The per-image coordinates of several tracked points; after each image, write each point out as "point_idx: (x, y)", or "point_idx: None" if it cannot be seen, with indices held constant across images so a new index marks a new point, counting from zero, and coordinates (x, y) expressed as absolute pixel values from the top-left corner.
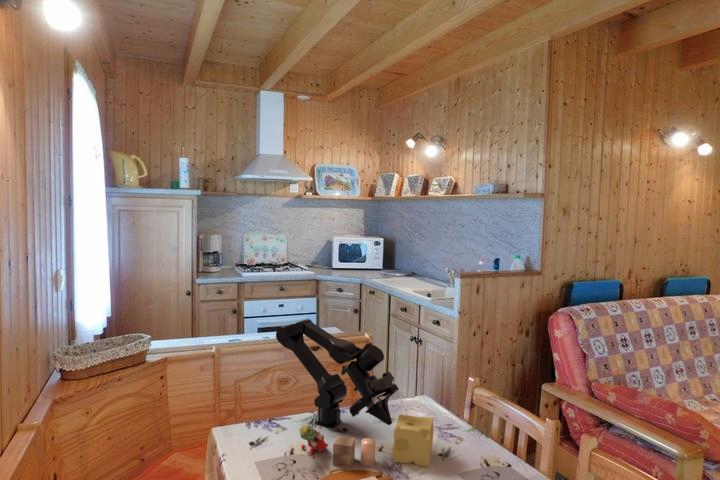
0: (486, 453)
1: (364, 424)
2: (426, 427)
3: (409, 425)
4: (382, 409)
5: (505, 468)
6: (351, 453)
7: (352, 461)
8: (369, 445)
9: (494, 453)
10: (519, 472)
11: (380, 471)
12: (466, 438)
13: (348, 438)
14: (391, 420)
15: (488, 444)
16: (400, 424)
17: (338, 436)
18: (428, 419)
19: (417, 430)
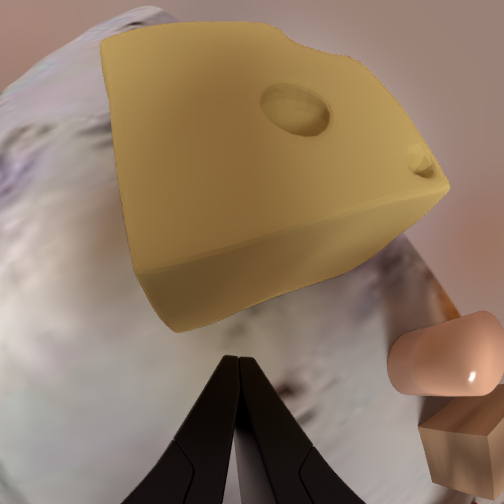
0: (91, 59)
1: None
2: (268, 32)
3: (333, 103)
4: (316, 501)
5: (154, 23)
6: (496, 391)
7: (448, 406)
8: (498, 323)
9: (85, 51)
10: (159, 11)
11: (426, 281)
12: (11, 124)
13: (500, 450)
14: (218, 367)
15: (38, 75)
16: (378, 164)
17: (501, 489)
18: (150, 37)
19: (351, 60)
